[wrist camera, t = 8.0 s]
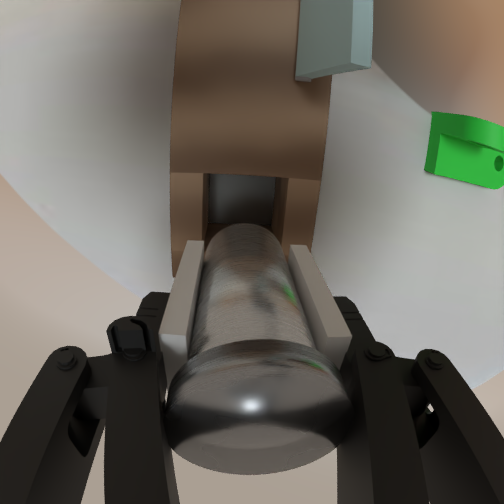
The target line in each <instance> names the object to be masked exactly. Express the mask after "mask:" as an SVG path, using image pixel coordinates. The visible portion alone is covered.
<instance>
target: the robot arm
mask: <svg viewBox="0 0 504 504" xmlns="http://www.w3.org/2000/svg"><path fill="white" fill-rule="evenodd" d="M203 266H204V241H194V240H188V241H187V244H186V247H185V249H184V252H183V255H182V258H181V262H180V265H179V268H178V271H177V274H176V277H175V280H174V283H173V286H172V290H171V293H164V292H150V293H149V294H148V295H147V296H145V297H144V298H143V299H142V302H141V304H140V306H139V309H138V311H137V314H136V316H128V317H122V318H120V319H117V320H115V321H114V322H112V323H111V324H110V325H109V327H108V329H107V335H108V339H109V343H110V347H111V351H112V353H111V354H108V355H104V356H96V357H87V356H86V353H85V352H84V351H83V350H82V349H81V348H78V347H76V346H66V347H61V348H59V349H57V350H55V351H54V352H53V353H52V354H51V355H50V356H49V357H48V359H47V360H46V362H45V364H44V365H43V367H42V368H41V370H40V372H39V373H38V375H37V376H36V378H35V380H34V381H33V383H32V385H31V386H30V388H29V390H28V392H27V394H26V395H25V397H24V399H23V401H22V402H21V404H20V406H19V407H18V409H17V411H16V413H15V415H14V417H13V419H12V420H11V422H10V424H9V426H8V428H7V430H6V432H5V434H4V436H3V438H2V440H1V442H0V504H81V500H82V497H83V493H84V490H85V486H86V483H87V480H88V476H89V473H90V470H91V467H92V463H93V460H94V457H95V454H96V451H97V448H98V445H99V442H100V439H101V436H102V433H103V430H104V427H105V448H104V494H105V504H180V502H179V496H178V490H177V484H176V479H175V473H174V465H173V458H172V450H171V447H170V445H169V441H168V438H167V434H166V430H165V427H164V423H163V420H164V414H165V408H166V401H165V394H166V389H167V390H168V391H169V386H170V383H171V380H172V379H173V377H174V375H175V373H176V372H177V371H178V370H179V369H180V367H181V366H183V365H184V364H185V363H186V362H187V361H188V358H189V351H190V345H191V338H192V332H193V325H194V319H195V313H196V307H197V300H198V295H199V289H200V283H201V277H202V271H203ZM288 267H289V270H290V272H291V275H292V278H293V281H294V284H295V287H296V290H297V292H298V295H299V298H300V301H301V304H302V307H303V310H304V313H305V316H306V319H307V322H308V324H309V327H310V330H311V333H312V336H313V339H314V342H315V345H316V348H317V350H318V351H320V352H321V353H323V354H324V355H326V356H327V357H329V358H330V359H331V360H332V361H333V362H334V363H335V365H336V366H337V368H338V369H339V371H340V374H341V376H342V379H343V382H344V384H345V387H346V390H347V392H348V395H349V398H350V401H351V403H352V406H353V409H354V414H355V418H354V420H353V422H352V424H351V426H350V428H349V430H348V431H347V433H346V435H345V437H344V439H343V440H342V442H341V444H340V445H338V446H337V485H338V486H337V487H338V488H337V492H338V494H337V495H338V496H337V498H338V499H337V504H429V502H430V504H504V438H503V437H502V435H501V433H500V432H499V430H498V429H497V427H496V425H495V424H494V422H493V421H492V419H491V418H490V416H489V415H488V413H487V412H486V410H485V409H484V407H483V406H482V404H481V403H480V402H479V400H478V399H477V397H476V396H475V394H474V393H473V391H472V390H471V389H470V387H469V386H468V384H467V383H466V382H465V380H464V379H463V378H462V376H461V375H460V373H459V372H458V371H457V369H456V368H455V367H454V365H453V364H452V363H451V361H450V360H449V359H448V358H447V357H446V356H445V355H444V354H443V353H441V352H439V351H437V350H433V349H424V350H422V351H420V352H419V353H418V355H417V357H416V359H415V360H414V359H407V358H400V357H395V355H394V353H393V351H392V350H391V349H390V348H389V347H388V346H387V345H385V344H383V343H380V342H377V341H375V339H374V337H373V335H372V334H371V332H370V330H369V328H368V326H367V325H366V323H365V321H364V320H363V318H362V316H361V314H360V313H359V311H358V309H357V307H356V305H355V304H354V303H353V302H352V301H351V300H349V299H348V298H347V297H333V296H332V294H331V292H330V290H329V288H328V286H327V284H326V282H325V280H324V278H323V276H322V274H321V273H320V271H319V269H318V267H317V265H316V263H315V261H314V259H313V257H312V255H311V253H310V252H309V250H308V248H307V246H306V245H290V251H289V258H288ZM429 404H431V406H432V407H433V409H434V411H433V412H431V411H430V410H429V409H428V406H429Z"/></svg>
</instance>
